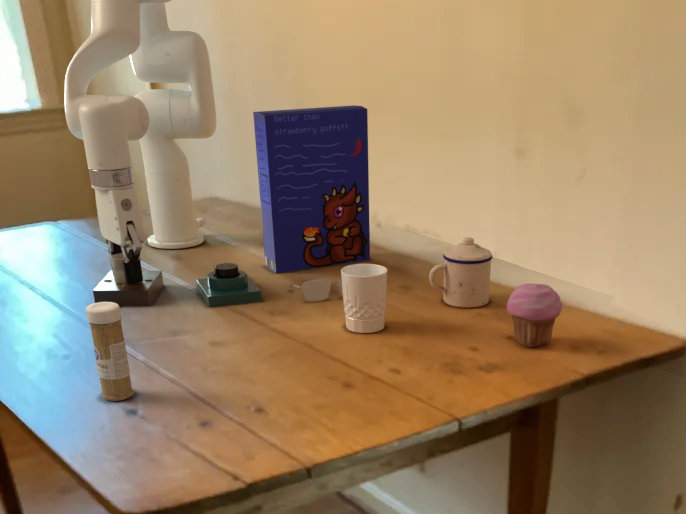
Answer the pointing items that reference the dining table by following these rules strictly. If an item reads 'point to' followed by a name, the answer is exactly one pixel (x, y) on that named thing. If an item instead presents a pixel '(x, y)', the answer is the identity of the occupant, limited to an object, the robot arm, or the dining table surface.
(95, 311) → the sprinkles bottle
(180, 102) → the robot arm
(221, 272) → the black button
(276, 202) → the cereal box
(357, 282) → the white cup
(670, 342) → the dining table surface
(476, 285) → the teacup with lid
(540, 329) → the cupcake
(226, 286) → the button housing
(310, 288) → the eyeglasses
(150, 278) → the dial panel
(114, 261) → the dial
